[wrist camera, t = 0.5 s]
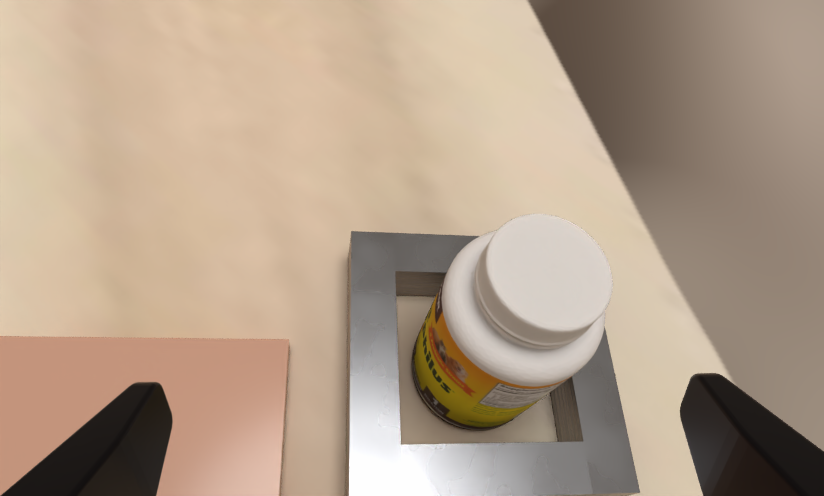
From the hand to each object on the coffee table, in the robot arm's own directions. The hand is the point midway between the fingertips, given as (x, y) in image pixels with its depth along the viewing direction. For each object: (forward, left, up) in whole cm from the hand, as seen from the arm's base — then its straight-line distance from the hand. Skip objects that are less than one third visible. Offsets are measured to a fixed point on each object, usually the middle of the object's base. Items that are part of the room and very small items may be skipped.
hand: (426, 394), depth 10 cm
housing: (+5, -5, -15) cm, 17 cm away
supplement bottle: (+5, -5, -15) cm, 17 cm away
